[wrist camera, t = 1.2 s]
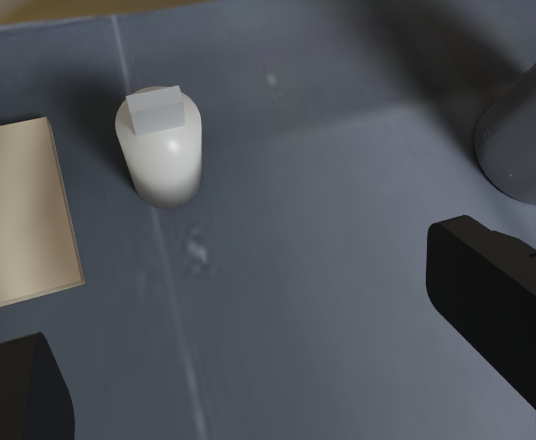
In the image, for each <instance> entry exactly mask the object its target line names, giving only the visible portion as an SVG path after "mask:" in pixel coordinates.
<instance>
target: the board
mask: <svg viewBox="0 0 536 440" xmlns="http://www.w3.org/2000/svg"><path fill="white" fill-rule="evenodd" d="M83 284H85V280H84V276H83V271H82V266H81V262H80V257H79V253H78V248H77V244H76V239H75V234H74V230H73V225H72V221H71V216H70V211H69V207H68V202H67V198H66V193H65V188H64V184H63V179H62V175H61V170H60V165H59V161H58V156H57V152H56V147H55V142H54V138H53V133H52V129H51V125H50V123H49V121H48V120H47V118H46V117H42V118H38V119H33V120H28V121H23V122H18V123H13V124H8V125H3V126H0V307H2V306H6V305H9V304H13V303H17V302H20V301H24V300H28V299H31V298H35V297H39V296H42V295H46V294H50V293H53V292H57V291H61V290H65V289H68V288H72V287H76V286H79V285H83Z"/></svg>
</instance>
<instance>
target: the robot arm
mask: <svg viewBox="0 0 536 440" xmlns="http://www.w3.org/2000/svg"><path fill="white" fill-rule="evenodd" d="M474 148H475V154H476V156H477V159H478V162H479V164H480V166H481V168H482V170H483V171H484V173H485V175H486V176H487V177H488V178H489V179H490V181H491V182H492V183H493V184H494V185H495V186H496V187H497V188H499V189H500V190H501V191H502V192H504V193H505V194H507V195H509V196H511V197H512V198H514V199H517V200H519V201H522V202H525V203H530V204H536V63H535V64H534V65H533V66H532V67H531V68H530V69H529V70H528V71H527V72H526V73H525V74H524V75H523V76H522V77H521V78H520V79H519V80H518V81H516V82H515V83H514V84H513V85H512V86H511V87H510V88H509V89H508V90H507V91H506V92H505V93H504V94H503V95H502V96H501V97H500V98H499V99H498V100H497V101H496V102H495V103H494V104H493V105H492V106H490V107H489V108H488V109H487V110H486V111H485V112H484V113H483V115H482V116H481V118H480V119H479V121H478V123H477V126H476V129H475V133H474ZM426 289H427V293H428V296H429V298H430V301H431V303H432V304H433V306H434V307H435V309H436V310H437V311H438V312H439V313H440V314H441V315H442V316H443V317H444V318H445V319H446V320H447V321H448V322H449V323H450V324H451V325H452V326H453V327H454V328H455V329H456V330H457V331H458V332H459V333H460V334H461V335H462V336H463V337H464V338H465V339H466V340H467V341H468V342H469V343H470V344H471V345H472V346H473V347H474V348H475V349H476V350H477V351H478V352H479V353H480V354H481V355H482V356H483V357H484V358H485V359H486V360H487V361H488V362H489V363H490V364H491V365H492V366H493V367H494V368H495V369H496V370H497V371H498V372H499V373H500V375H501V376H502V377H503V378H504V379H505V380H506V381H507V382H508V383H509V384H510V385H511V386H512V387H513V388H514V389H515V390H516V391H517V392H518V393H519V394H520V395H521V396H522V397H523V398H524V399H525V400H526V401H527V402H528V403H529V404H530V405H531V406H532V407H533V408H534V409H535V410H536V250H535V249H534V248H532V247H531V246H529V245H528V244H526V243H525V242H523V241H521V240H520V239H517V238H515V237H512V236H509V235H506V234H503V233H500V232H497V231H491V230H489V229H488V228H486V227H485V226H483V225H482V224H480V223H479V222H478V221H476V220H475V219H473V218H472V217H470V216H467V215H462V216H459V217H455V218H451V219H448V220H444V221H441V222H437V223H434V224H432V225H431V226H430V227H429V229H428V235H427V262H426ZM74 435H75V417H74V410H73V404H72V400H71V396H70V393H69V391H68V388H67V386H66V383H65V381H64V379H63V376H62V374H61V372H60V370H59V367H58V365H57V363H56V360H55V358H54V356H53V353H52V351H51V349H50V346H49V344H48V342H47V340H46V338H45V336H44V335H43V334H42V333H41V332H38V333H34V334H31V335H27V336H24V337H20V338H16V339H13V340H9V341H6V342H2V343H0V440H74Z"/></svg>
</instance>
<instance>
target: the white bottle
mask: <svg viewBox="0 0 536 440" xmlns="http://www.w3.org/2000/svg"><path fill="white" fill-rule="evenodd" d="M115 128H116V133H117V136H118V139H119V142H120V145H121V148H122V151H123V154H124V157H125V160H126V163H127V166H128V169H129V172H130V174H131V177H132V180H133V183H134V186H135V189H136V191H137V193H138V195H139V196H140V197H141V198H142V199H143V200H144V201H145V202H146V203H148V204H149V205H151V206H154V207H157V208H161V209H173V208H177V207H181V206H183V205H185V204H186V203H188V202H189V201H190V200H192V199H193V198H194V196H195V195H196V194H197V192H198V190H199V188H200V185H201V117H200V114H199V111H198V109H197V107H196V105H195V104H194V103H193V101H192V100H191V99H190V98H189V97H187V96H186V95H185V94H183V93H182V92H181V91H180V88H179V86H174V87H169V88H168V87H161V86H155V87H148V88H144V89H141V90H139V91H137V92H135V93H133V94H132V95H129V96H126V100H125V101H124V102H123V103H122V105H121V106H120V108H119V110H118V112H117V115H116V121H115Z"/></svg>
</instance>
